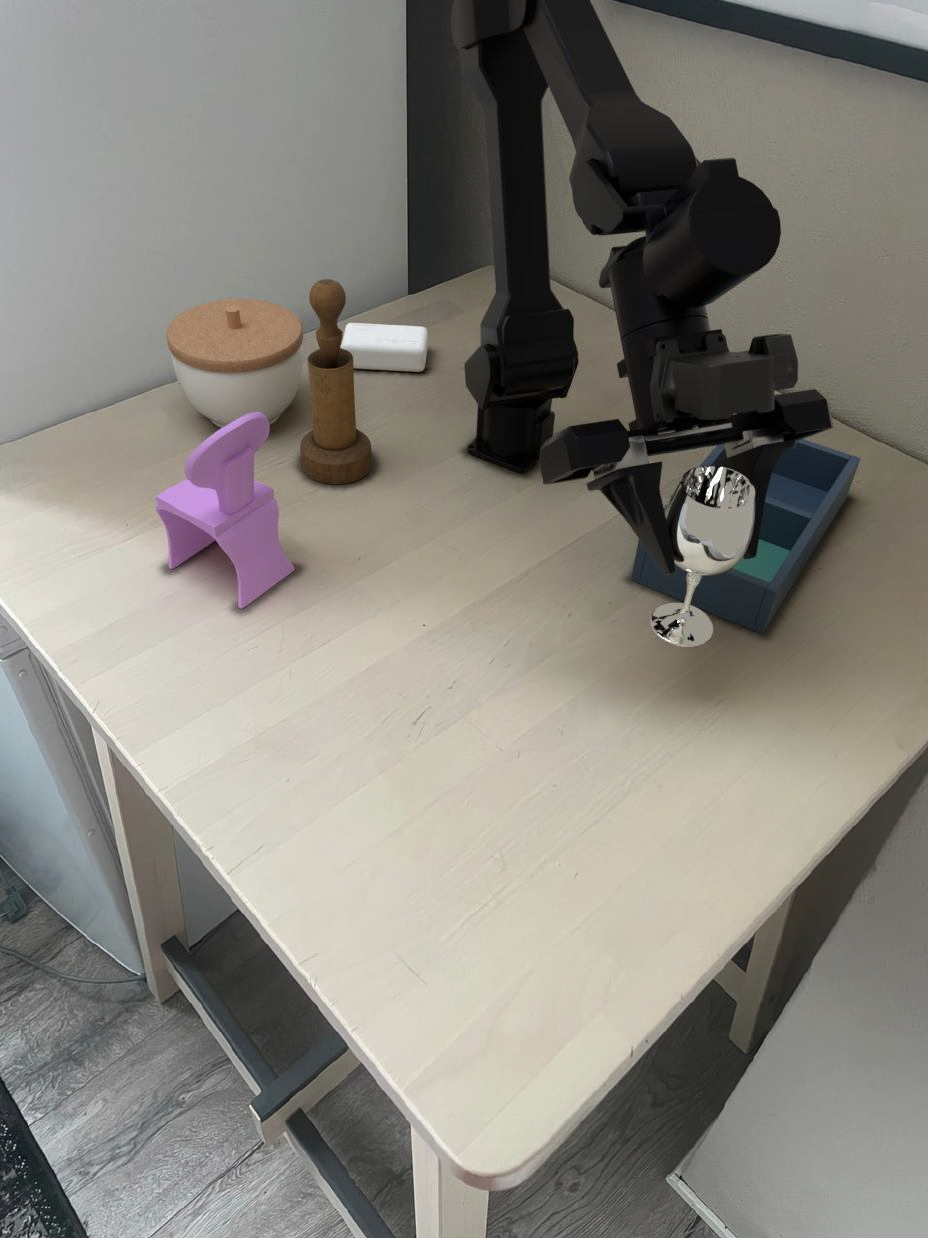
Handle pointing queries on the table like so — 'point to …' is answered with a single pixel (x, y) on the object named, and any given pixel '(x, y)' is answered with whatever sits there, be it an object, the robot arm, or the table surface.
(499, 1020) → the table surface
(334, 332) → the mortar and pestle
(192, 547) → the toy chair
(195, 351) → the lidded bowl
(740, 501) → the wineglass
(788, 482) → the divided storage tray
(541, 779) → the table surface
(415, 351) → the soap
